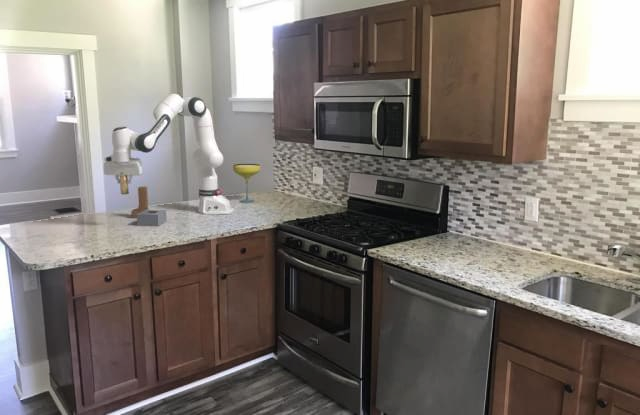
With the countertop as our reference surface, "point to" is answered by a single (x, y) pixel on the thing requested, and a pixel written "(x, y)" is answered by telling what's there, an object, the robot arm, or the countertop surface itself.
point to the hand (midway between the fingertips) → (124, 183)
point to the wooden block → (141, 201)
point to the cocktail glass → (246, 175)
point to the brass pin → (123, 183)
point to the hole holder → (151, 218)
